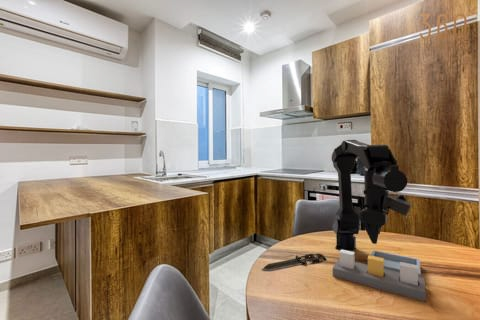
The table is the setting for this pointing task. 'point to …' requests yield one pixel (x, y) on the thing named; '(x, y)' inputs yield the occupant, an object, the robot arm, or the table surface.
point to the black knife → (293, 262)
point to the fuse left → (347, 259)
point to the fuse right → (409, 273)
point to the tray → (396, 261)
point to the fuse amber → (376, 265)
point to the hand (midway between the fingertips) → (376, 238)
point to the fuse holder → (381, 280)
